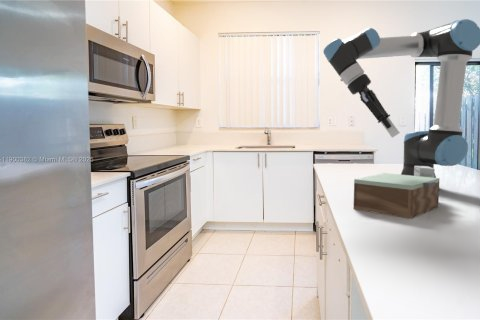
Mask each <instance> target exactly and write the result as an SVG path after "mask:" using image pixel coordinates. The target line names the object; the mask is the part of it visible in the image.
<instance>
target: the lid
mask: <svg viewBox="0 0 480 320" xmlns="http://www.w3.org/2000/svg"><path fill="white" fill-rule="evenodd" d="M438 182H439V183H440V178H439V177H436V178H432V177H421V176H410V175H401V173H400V174H397V173H387V172H385V173H383V172H382V173H380V174H374V175H370V176H363V177H358V178H354V181H353V184H354V183H358V184H366V185H375V186H383V187H392V188H400V189H408V190H414V189H417V188H420V187H432V186H435V183H438Z"/></svg>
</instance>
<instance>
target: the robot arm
mask: <svg viewBox="0 0 480 320" xmlns="http://www.w3.org/2000/svg"><path fill="white" fill-rule="evenodd" d="M479 46H480V27H479V25H478V24H477V23H476V22H475V21H474V20H472V19H468V18H464V19H460V20H458V19H457V20H455V21H453V22H450V23H447V24H444V25H441V26H437V27H434V28H432V29H429V30H426V31H425V30H424V31H421V32H414V33H412V34H411V35H403V36H389V37H388V36H387V37H380V35H379V33H378V31H377V30H376V29H374V28H373V27H368V28H366V29H364V30H361V31H360V32H359V33H357V34H355V35H352V36H350V37H348V38H345V39H343V40H342V39H341V38H336V39H334V40H332V41H330V42H329V43H328V44H327V45H326V46H325V47H324V49H323V50H322V51H323V55H324V57H325V58H326V60H327V62H328V63H329V64H330V66H332V68H333V69H334V71H335V72H336V73H337V74H338V77H340V82H343V83H344V84H345V85H346V86H347V89H348V90H349V92H350V94H352V95H353V96H354V95H356V94H359V98H360V101H361V102H362V103H363V104H364V106H366V107H367V109H368V110H369V111H370V112H371V114H372V115H373V116H374V118H375V119H376V120H377V123H378V124H380V123H381V125H382V126H383V127H384V129H385V130H386V131H387V133H388V134H389V136H390V137H391V138H394V137H396V136H398V135H399V134H400V131H399V130H398V128H397V127H396V126H395V124H394V123H393V121H392V120H391V119H390V117H391V115H390V114H389V113H388V112H387V111H386V110H385V108H384V106H383V104H382V103H381V102H380V100H379V99H378V97H377V94H376V93H375V92H374V91H373V89H369V87H368V86H369V85H370V84H371V83H372V80H371V79H370V77H369V76H368V75H367V74H366V73H365V70H364V69H363V68H362V66H361V65H360V64H359V62H358V61H357V60H362V59H363V60H364V59H365V60H366V59H374V58H375V59H378V58H388V57H389V58H390V57H391V58H392V57H404V56H405V57H407V56H410V57H411V58H436V59H437V60H438V61H439V62H440V68H439V69H440V70H439V77H438V86H437V93H436V94H437V96H436V102H435V109H434V119H433V125H432V126H431V127H429V128H428V130H420V131H410V132H407V133H406V134H405V135H404V140H403V166H402V170H401V173H400V175H410V176H414V166H428V167H431V168H434V166H435V165H439V166H441V167H453V166H454V167H455V166H457V165H459V164H460V163H461V162H462V161H464V159H465V158H466V156H467V154H468V151H469V143H468V142H467V139H466V138H465V137H463V132H464V131H463V130H462V129H461V128H460V118H461V111H462V102H463V94H464V85H465V77H466V69H467V63H468V62H469V61H470V60H471V59H472V58H473V52H474V51H475V50H476V49H477V48H479ZM434 169H435V168H434ZM436 176H437V175H436V173H435V171H434V178H437V177H436Z"/></svg>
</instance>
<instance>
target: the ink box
mask: <svg viewBox="0 0 480 320" xmlns="http://www.w3.org/2000/svg"><path fill="white" fill-rule="evenodd" d="M434 172H435V168H431V167H428V166H414V176H421V177H432V178H434Z"/></svg>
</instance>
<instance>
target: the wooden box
mask: <svg viewBox="0 0 480 320" xmlns="http://www.w3.org/2000/svg"><path fill="white" fill-rule="evenodd" d="M439 197H440V181H439V182H438V183H435V186H432V187H420V188H417V189H414V190H408V189H400V188H392V187H383V186H375V185H366V184H358V183H354V182H353V209H354V210H359V211H363V212H364V211H365V212H371V213H376V214H382V215H388V216H393V217H401V218H406V219H413V218H416V217H418V216H421V215H423V214H425V213H428V212H431V211H433V210H435V209H438V208H439V202H440V201H439V200H440V199H439Z"/></svg>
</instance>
